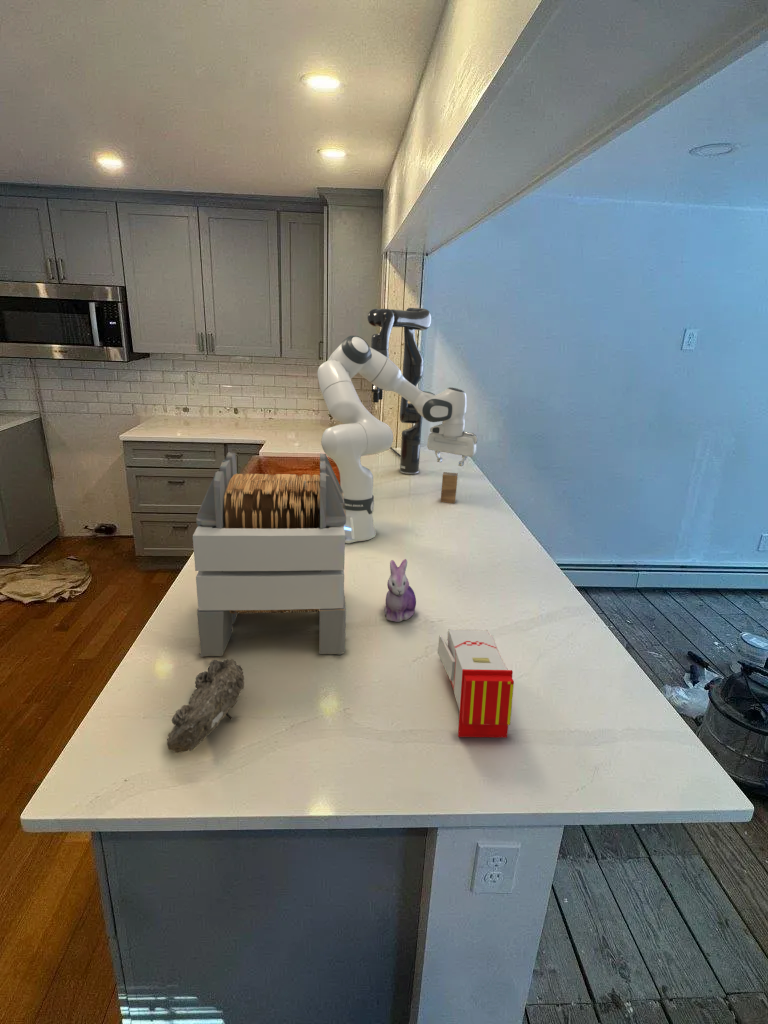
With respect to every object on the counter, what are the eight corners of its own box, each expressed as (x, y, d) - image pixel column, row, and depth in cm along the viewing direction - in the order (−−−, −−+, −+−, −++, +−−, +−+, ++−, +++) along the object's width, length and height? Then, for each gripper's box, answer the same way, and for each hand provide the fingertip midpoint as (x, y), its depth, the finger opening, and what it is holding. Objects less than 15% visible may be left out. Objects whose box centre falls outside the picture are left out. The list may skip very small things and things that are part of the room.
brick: (454, 503, 234) (457, 475, 230) (440, 502, 235) (442, 474, 231) (455, 500, 238) (457, 473, 234) (441, 499, 239) (443, 472, 235)
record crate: (222, 587, 157) (213, 443, 143) (340, 586, 160) (343, 445, 147) (197, 659, 125) (183, 482, 111) (345, 655, 129) (349, 484, 115)
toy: (488, 613, 130) (523, 677, 101) (484, 667, 133) (517, 744, 104) (435, 612, 130) (455, 676, 101) (432, 666, 133) (451, 743, 103)
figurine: (392, 627, 141) (395, 572, 136) (374, 608, 149) (376, 556, 144) (425, 619, 145) (429, 566, 140) (405, 601, 154) (408, 550, 149)
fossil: (192, 660, 117) (244, 628, 112) (224, 691, 120) (276, 661, 115) (142, 746, 98) (202, 712, 93) (182, 779, 101) (242, 748, 96)
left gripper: (480, 432, 220) (477, 466, 225) (433, 425, 230) (431, 458, 235) (474, 435, 215) (471, 470, 220) (426, 427, 225) (424, 461, 230)
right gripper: (385, 362, 223) (383, 404, 228) (391, 359, 236) (389, 399, 241) (366, 361, 224) (365, 402, 229) (373, 358, 237) (372, 397, 242)
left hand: (450, 463), depth 227 cm, fingers open, 8 cm apart
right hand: (377, 400), depth 235 cm, fingers open, 8 cm apart
